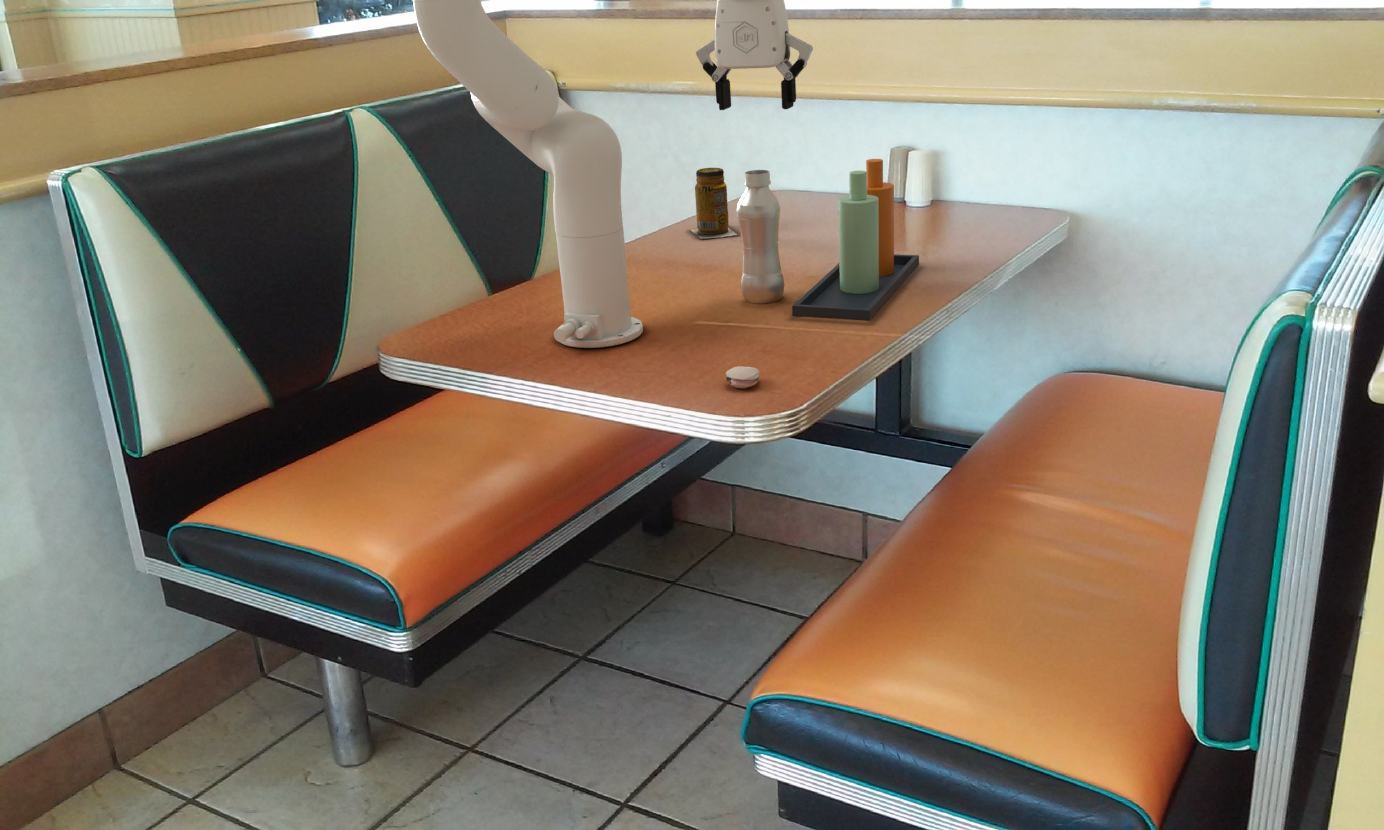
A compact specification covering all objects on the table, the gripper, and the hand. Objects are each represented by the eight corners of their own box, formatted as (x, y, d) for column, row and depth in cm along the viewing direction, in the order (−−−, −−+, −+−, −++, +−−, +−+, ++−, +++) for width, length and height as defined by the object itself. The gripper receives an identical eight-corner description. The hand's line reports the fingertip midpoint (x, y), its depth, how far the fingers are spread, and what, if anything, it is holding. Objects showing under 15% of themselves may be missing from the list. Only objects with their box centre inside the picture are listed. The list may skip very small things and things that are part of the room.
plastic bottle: (782, 308, 177) (777, 176, 169) (738, 308, 178) (731, 177, 171) (787, 296, 183) (782, 167, 175) (744, 296, 184) (738, 168, 176)
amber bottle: (888, 277, 186) (888, 164, 179) (852, 276, 189) (850, 163, 182) (898, 267, 191) (898, 157, 184) (862, 266, 194) (861, 156, 187)
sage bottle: (873, 294, 178) (872, 176, 171) (835, 292, 181) (832, 176, 174) (883, 284, 183) (882, 168, 176) (846, 282, 186) (844, 168, 179)
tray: (869, 324, 167) (869, 310, 166) (792, 319, 171) (791, 305, 171) (919, 267, 193) (919, 255, 192) (850, 264, 197) (850, 252, 196)
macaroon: (720, 387, 148) (718, 368, 147) (744, 375, 151) (743, 357, 150) (746, 394, 145) (745, 375, 144) (771, 381, 148) (770, 363, 147)
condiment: (726, 226, 229) (723, 165, 225) (737, 235, 221) (734, 172, 217) (690, 230, 228) (686, 169, 223) (700, 240, 220) (695, 176, 216)
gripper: (682, -12, 163) (691, 113, 170) (800, -19, 157) (805, 111, 163) (703, -16, 170) (710, 105, 176) (817, -23, 163) (821, 103, 169)
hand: (756, 108), depth 170 cm, fingers open, 9 cm apart
